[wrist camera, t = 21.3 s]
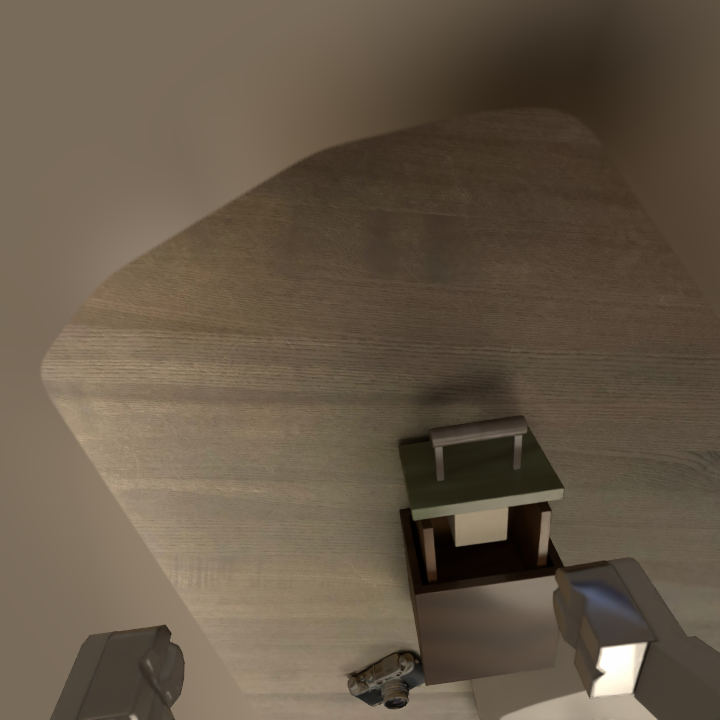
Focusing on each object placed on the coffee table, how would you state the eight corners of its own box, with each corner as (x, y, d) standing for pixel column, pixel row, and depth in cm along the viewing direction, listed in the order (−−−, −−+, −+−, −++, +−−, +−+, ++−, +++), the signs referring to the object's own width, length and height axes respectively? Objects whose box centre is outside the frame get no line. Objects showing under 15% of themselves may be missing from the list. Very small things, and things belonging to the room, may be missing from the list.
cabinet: (399, 509, 47) (414, 595, 40) (527, 490, 47) (567, 573, 39) (411, 599, 55) (425, 686, 47) (521, 583, 55) (554, 667, 47)
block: (442, 472, 43) (454, 511, 39) (492, 465, 43) (508, 503, 39) (444, 507, 45) (455, 547, 41) (491, 501, 45) (507, 540, 41)
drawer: (392, 399, 40) (406, 460, 33) (531, 379, 40) (570, 436, 33) (410, 547, 49) (423, 616, 43) (522, 530, 49) (552, 597, 43)
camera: (342, 676, 62) (343, 713, 59) (409, 645, 60) (414, 681, 56) (365, 691, 64) (367, 728, 61) (430, 661, 62) (437, 698, 58)
